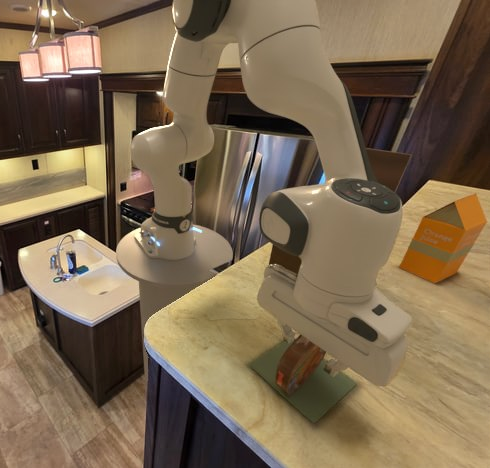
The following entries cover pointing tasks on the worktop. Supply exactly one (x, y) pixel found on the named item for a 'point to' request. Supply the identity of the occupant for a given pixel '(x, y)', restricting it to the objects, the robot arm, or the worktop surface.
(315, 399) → the mat
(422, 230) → the orange juice
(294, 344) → the tin
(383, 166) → the lid
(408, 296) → the worktop surface
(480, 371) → the worktop surface
